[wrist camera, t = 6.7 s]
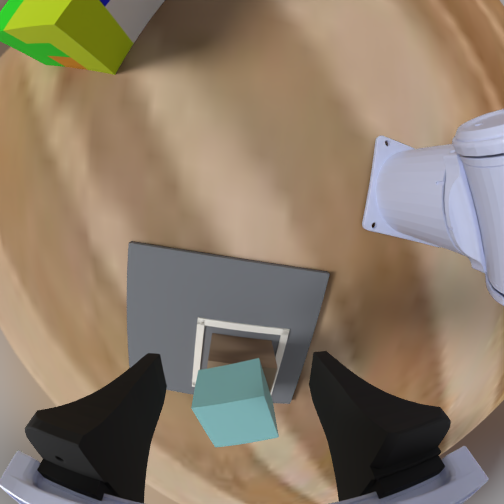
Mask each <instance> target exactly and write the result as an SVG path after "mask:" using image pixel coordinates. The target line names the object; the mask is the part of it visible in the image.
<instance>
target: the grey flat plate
mask: <svg viewBox="0 0 504 504" xmlns="http://www.w3.org/2000/svg"><path fill="white" fill-rule="evenodd" d="M329 275H330V274H329V273H328V272H327V271H320V270H313V269H306V268H300V267H293V266H286V265H279V264H273V263H266V262H260V261H253V260H247V259H240V258H234V257H227V256H221V255H214V254H208V253H201V252H195V251H189V250H182V249H176V248H170V247H164V246H157V245H151V244H145V243H139V242H133V241H131V242H129V248H128V267H127V333H128V352H129V366H130V368H131V367H132V366H133V365H134V364H135V363H137V362H138V361H139V360H140V359H141V358H142V357H144V356H145V355H146V354H147V353H155V354H160V356H161V361H162V366H163V371H164V375H165V380H166V384H167V388H166V390H171V391H177V392H182V393H188V394H194V391H195V385H196V380H197V374H198V370H203V369H207V365H208V357H209V351H210V344H211V338H212V333H216V334H223V335H230V336H238V337H246V338H254V339H263V340H271V341H272V345H273V350H274V354H275V359H276V363H277V368H278V369H277V372H276V376H275V379H274V383H273V386H272V390H271V393H270V394H271V397H272V401H273V403H288V404H290V402H291V399H292V397H293V394H294V391H295V388H296V385H297V383H298V380H299V377H300V374H301V371H302V368H303V365H304V362H305V359H306V356H307V352H308V349H309V346H310V343H311V340H312V336H313V333H314V330H315V326H316V323H317V319H318V316H319V312H320V309H321V305H322V301H323V298H324V294H325V290H326V286H327V282H328V279H329Z"/></svg>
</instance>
